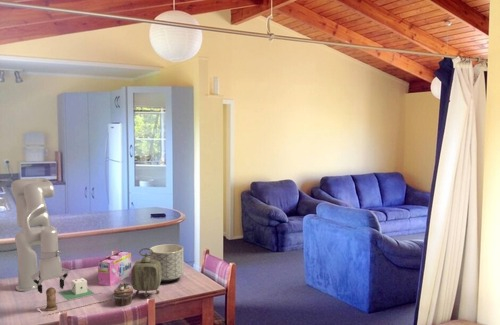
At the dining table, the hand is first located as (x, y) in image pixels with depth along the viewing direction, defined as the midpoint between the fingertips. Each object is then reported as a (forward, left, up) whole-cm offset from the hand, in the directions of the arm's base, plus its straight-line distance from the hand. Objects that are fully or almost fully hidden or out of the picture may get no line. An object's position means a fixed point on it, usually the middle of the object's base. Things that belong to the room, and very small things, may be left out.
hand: (51, 290), depth 225 cm
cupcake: (+13, +30, -10) cm, 34 cm away
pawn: (-1, 0, -10) cm, 10 cm away
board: (-1, +11, -10) cm, 15 cm away
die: (-16, +19, -9) cm, 26 cm away
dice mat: (-15, +17, -10) cm, 24 cm away
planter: (-5, +65, -10) cm, 66 cm away
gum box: (-23, +42, -10) cm, 49 cm away
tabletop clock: (+11, +44, -10) cm, 47 cm away
